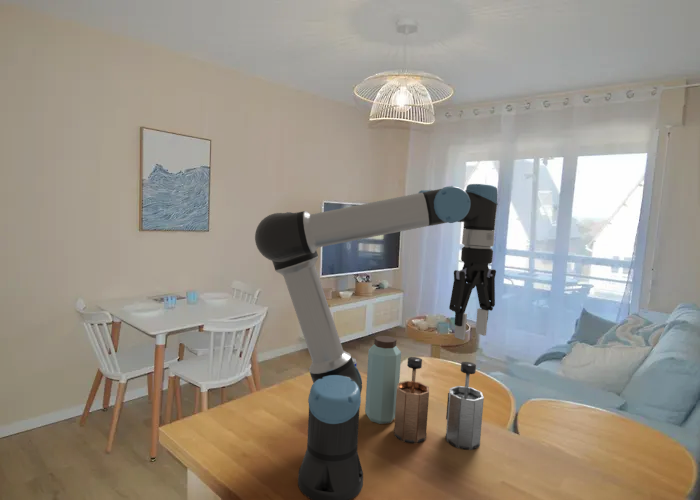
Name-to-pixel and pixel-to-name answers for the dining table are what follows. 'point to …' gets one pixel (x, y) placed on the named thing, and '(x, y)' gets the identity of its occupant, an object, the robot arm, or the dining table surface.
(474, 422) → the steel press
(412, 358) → the copper press plunger
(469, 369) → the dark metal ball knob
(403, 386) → the copper press
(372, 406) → the water bottle
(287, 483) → the dining table surface
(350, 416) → the robot arm
